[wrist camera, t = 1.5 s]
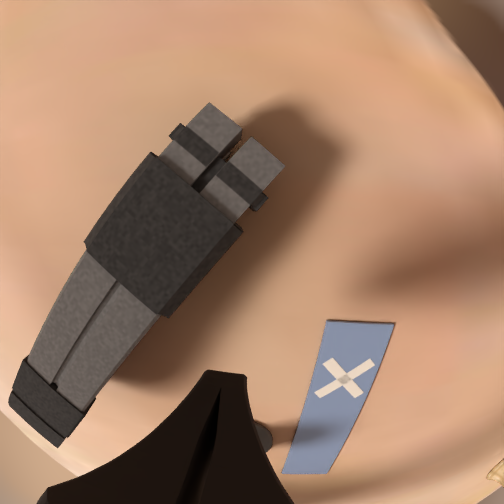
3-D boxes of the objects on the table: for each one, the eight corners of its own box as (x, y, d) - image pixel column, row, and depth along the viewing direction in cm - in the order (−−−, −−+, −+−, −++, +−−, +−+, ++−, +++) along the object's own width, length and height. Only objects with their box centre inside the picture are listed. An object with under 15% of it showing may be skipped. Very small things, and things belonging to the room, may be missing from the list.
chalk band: (326, 472, 19) (326, 473, 19) (281, 472, 20) (281, 473, 19) (393, 323, 15) (394, 325, 15) (326, 320, 15) (327, 321, 15)
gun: (48, 364, 18) (-19, 425, 8) (203, 161, 19) (204, 91, 9) (91, 401, 18) (43, 480, 8) (252, 204, 20) (299, 170, 10)
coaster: (267, 457, 19) (267, 460, 19) (205, 450, 19) (204, 453, 19) (276, 422, 17) (276, 425, 17) (204, 413, 18) (203, 416, 17)
